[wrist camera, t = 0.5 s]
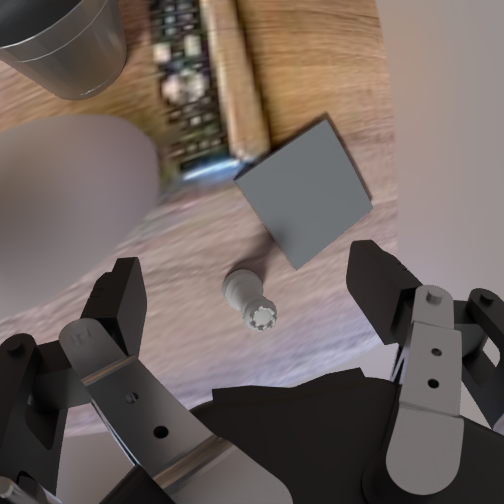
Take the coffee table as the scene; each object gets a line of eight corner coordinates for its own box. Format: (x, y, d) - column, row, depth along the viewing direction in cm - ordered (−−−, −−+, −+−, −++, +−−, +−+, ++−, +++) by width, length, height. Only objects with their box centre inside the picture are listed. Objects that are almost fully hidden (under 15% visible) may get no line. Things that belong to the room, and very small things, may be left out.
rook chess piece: (265, 294, 37) (293, 326, 30) (230, 312, 36) (250, 349, 29) (251, 260, 36) (277, 287, 28) (214, 279, 35) (230, 311, 28)
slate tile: (233, 180, 33) (236, 180, 31) (321, 120, 33) (326, 118, 32) (292, 267, 37) (296, 270, 36) (367, 206, 38) (373, 208, 37)
